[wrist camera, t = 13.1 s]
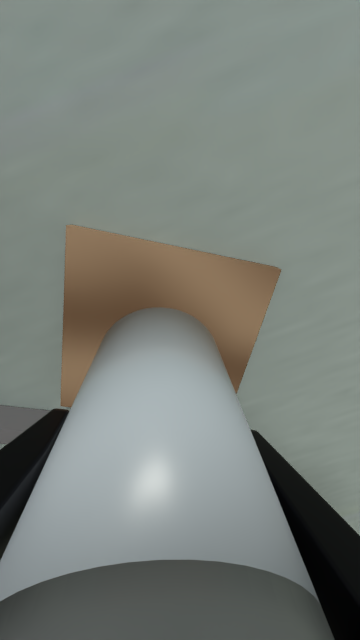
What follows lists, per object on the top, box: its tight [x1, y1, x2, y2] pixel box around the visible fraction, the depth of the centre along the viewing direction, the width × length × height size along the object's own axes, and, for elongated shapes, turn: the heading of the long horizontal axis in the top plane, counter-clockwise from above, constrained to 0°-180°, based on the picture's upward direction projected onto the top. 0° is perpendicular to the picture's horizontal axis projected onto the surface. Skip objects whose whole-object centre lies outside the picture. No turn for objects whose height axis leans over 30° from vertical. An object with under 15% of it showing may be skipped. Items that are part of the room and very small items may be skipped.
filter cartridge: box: [0, 307, 335, 640], centre depth 6 cm, size 5×5×9 cm
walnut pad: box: [61, 225, 281, 407], centre depth 12 cm, size 9×9×1 cm
